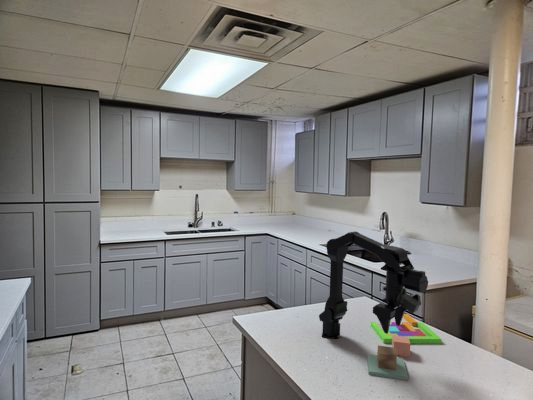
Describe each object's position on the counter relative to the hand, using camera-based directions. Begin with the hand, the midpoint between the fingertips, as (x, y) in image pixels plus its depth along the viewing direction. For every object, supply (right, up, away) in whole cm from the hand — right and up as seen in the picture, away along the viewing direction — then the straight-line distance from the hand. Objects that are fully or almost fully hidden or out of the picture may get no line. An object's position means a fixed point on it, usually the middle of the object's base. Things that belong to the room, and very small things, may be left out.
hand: (392, 329), depth 124 cm
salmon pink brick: (+6, -12, +9) cm, 16 cm away
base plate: (-3, -12, -3) cm, 13 cm away
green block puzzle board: (+13, -11, +28) cm, 33 cm away
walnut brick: (-3, -11, -3) cm, 12 cm away
